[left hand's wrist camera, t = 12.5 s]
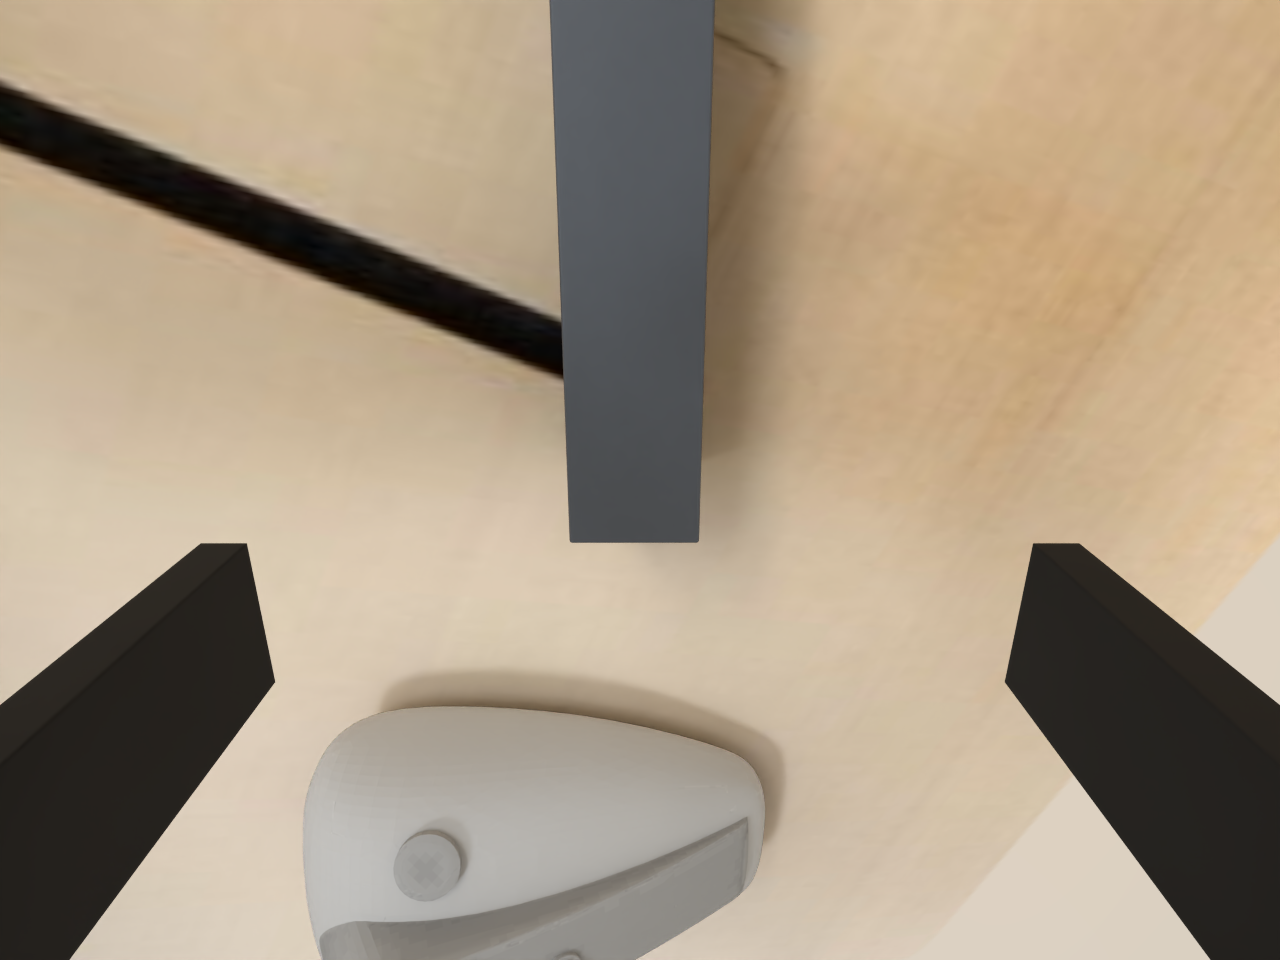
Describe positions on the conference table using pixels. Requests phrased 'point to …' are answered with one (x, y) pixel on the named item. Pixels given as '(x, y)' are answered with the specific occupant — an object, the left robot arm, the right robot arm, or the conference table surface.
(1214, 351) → the conference table surface
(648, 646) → the conference table surface
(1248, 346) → the conference table surface
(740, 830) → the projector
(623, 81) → the beam
